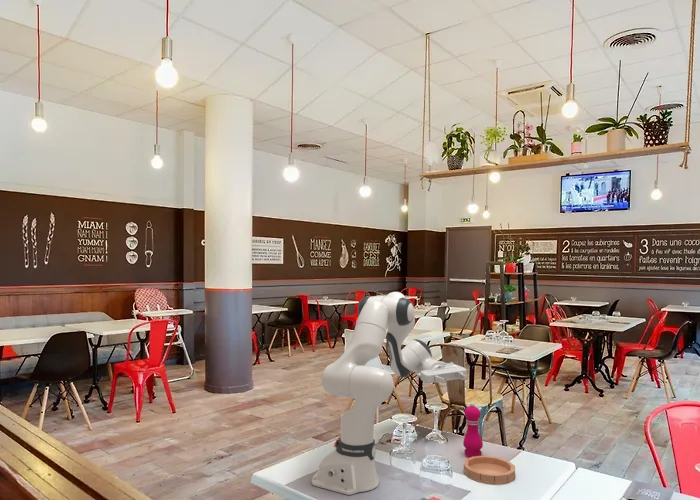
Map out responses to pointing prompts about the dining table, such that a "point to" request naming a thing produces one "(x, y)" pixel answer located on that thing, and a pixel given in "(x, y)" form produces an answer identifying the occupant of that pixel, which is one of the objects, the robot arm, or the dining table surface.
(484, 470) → the round tray
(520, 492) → the dining table surface
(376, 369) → the robot arm
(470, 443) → the pepper mill
